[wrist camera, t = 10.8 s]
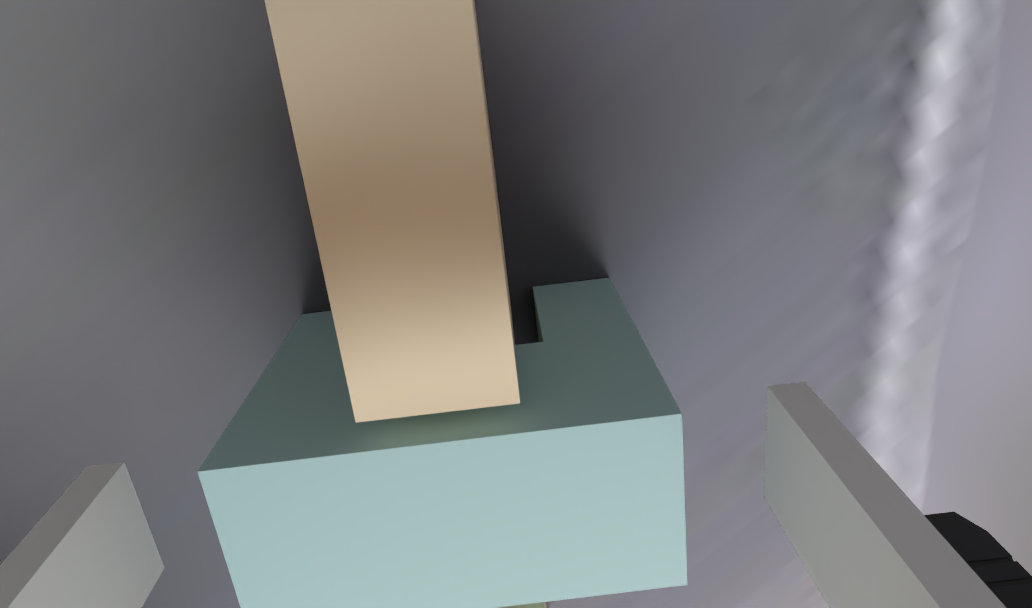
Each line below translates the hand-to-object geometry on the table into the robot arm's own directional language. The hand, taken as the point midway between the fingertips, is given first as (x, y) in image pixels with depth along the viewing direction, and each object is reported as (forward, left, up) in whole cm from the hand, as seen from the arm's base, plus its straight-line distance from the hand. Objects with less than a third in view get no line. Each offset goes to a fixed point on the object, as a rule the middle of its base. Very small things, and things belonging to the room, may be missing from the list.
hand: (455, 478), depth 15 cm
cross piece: (0, 0, -7) cm, 7 cm away
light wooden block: (+1, 0, -7) cm, 7 cm away
